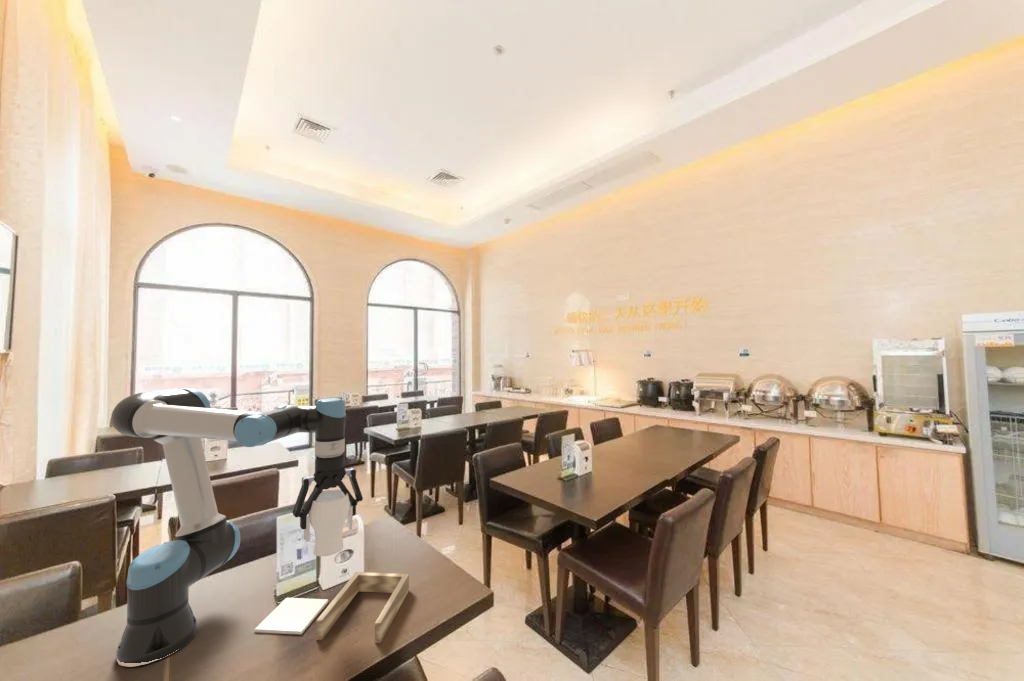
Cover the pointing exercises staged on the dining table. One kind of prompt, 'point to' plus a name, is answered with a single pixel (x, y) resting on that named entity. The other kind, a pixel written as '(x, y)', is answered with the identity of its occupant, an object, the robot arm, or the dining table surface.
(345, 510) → the cup
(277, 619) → the tile
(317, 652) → the dining table surface
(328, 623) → the frame
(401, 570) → the dining table surface
